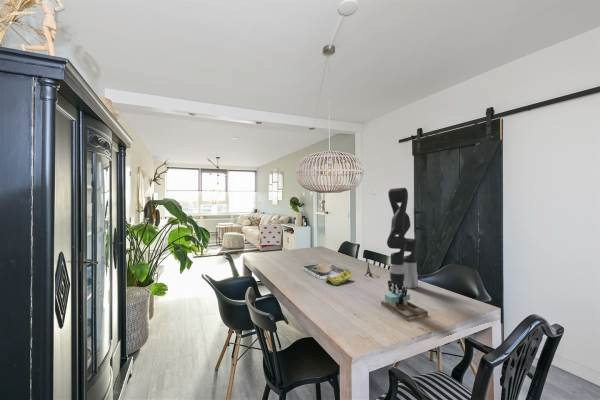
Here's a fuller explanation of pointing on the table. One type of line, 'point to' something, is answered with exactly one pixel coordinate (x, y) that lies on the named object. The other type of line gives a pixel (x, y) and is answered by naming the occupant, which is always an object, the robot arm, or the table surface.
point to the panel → (395, 299)
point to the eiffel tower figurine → (369, 272)
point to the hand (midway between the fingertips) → (397, 301)
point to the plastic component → (339, 277)
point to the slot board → (406, 310)
